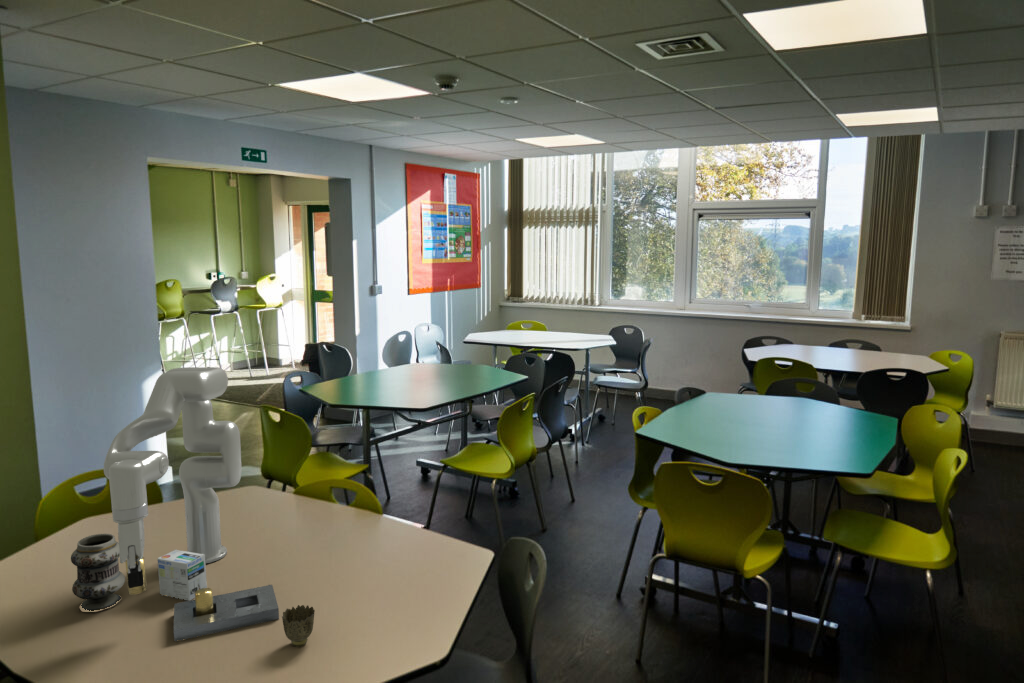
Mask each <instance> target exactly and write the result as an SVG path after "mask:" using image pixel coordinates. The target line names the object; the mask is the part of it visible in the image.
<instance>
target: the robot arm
mask: <svg viewBox="0 0 1024 683" xmlns="http://www.w3.org/2000/svg"><path fill="white" fill-rule="evenodd" d="M228 384H229V379H228V374H227V372H226V371H225V370H224V369H223V368H222V367H217V366H215V367H209V366H208V367H198V366H197V367H194V366H193V367H189V366H187V367H176V368H171V369H168V370H167V371H166V372H164V373H162V374H160V375H159V376H158V378H156V382H155V383H154V386H153V388H152V391H151V393H150V396H149V398H148V401H147V404H146V405H145V409H144V411H143V413H142V415H140V416H139V417H137V418H135V419H134V420H132V421H131V422H130V423H128V424H127V425H126V426H125V427H124V428H122V429H121V430H120V431H119V432H118V433H117V434H116V435H115V436H114V438H113V439H112V441H111V444H110V445H109V448H108V450H107V453H106V456H105V458H104V462H103V474H104V476H105V477H106V479H107V480H108V481H109V492H110V500H111V502H110V503H111V511H112V512H111V513H112V521H113V523H117V538H118V543H119V554H120V557H119V563H121V564H124V563H125V561H126V560H127V567H128V572H127V574H126V577H127V576H128V584H127V587H128V586H129V588H133V587H138V586H143V584H144V581H143V570H142V569H141V561H140V560H141V559H142V558H143V557H144V553H145V552H144V551H145V524H144V519H145V518H147V517H148V516H149V507H148V504H149V503H148V496H147V494H148V493H147V485H148V484H151V483H153V482H156V481H158V480H160V479H162V478H163V477H164V476H165V475H166V473H167V472H168V469H169V466H170V461H169V458H168V456H167V455H166V453H164V452H162V451H159V450H133V448H135V447H136V446H137V445H140V444H141V443H142V442H144V441H147V440H148V439H152V438H154V437H158V436H159V435H161V434H164V433H167V432H169V431H170V430H172V429H174V428H175V427H176V426H177V424H178V421H179V418H180V415H181V418H182V419H181V420H182V438H183V440H182V441H183V445H184V448H185V450H186V451H188V452H189V453H190V452H191V453H201V454H202V453H204V454H205V453H206V454H207V453H220V454H221V455H201V456H200V455H199V456H191V457H188V458H186V459H184V460H183V461H182V462H181V464H180V465H179V470H178V475H179V480H180V484H181V487H182V492H183V498H184V500H183V501H184V512H185V513H184V515H185V516H184V517H185V528H186V529H185V530H186V532H185V533H186V546H187V550H185V551H186V552H193V553H200V554H205V565H206V564H210V563H213V562H217V561H220V560H221V559H222V558H225V556H226V555H227V553H228V549H227V547H226V546H224V545H222V535H221V532H222V531H221V516H220V500H219V496H218V495H217V493H216V492H215V490H214V489H215V488H216V489H217V488H231V487H235V486H237V485H238V484H239V483H240V481H241V478H242V448H241V432H240V429H239V427H238V424H237V423H235V422H234V421H231V420H215V419H214V412H213V411H214V410H213V409H214V408H213V403H212V401H211V400H214V399H216V398H219V397H221V396H222V395H223V394H224V393H225V392H226V391H227V388H228ZM136 556H138V558H135V557H136ZM137 561H138V564H136V562H137Z"/></svg>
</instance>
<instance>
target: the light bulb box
mask: <svg viewBox="0 0 1024 683" xmlns="http://www.w3.org/2000/svg"><path fill="white" fill-rule="evenodd" d="M186 551H187V550H180V549H173V550H172V551H169V552H168V553H166V554H163V555H161V556H159V557H157V559H156V561H157V570H158V571H157V572H158V585H159V586H158V587H159V595H160V594H162V595H161V596H163V595H167V596H166V597H168V596H171V597H170V598H173V597H175V598H174V599H178V598H179V600H183V599H184V601H191V600H194V599H195V592H196V591H197V590H199V589H202V588H208V584H207V569H206V564H205V554H200V553H193V552H186Z"/></svg>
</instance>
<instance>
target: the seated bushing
mask: <svg viewBox="0 0 1024 683" xmlns="http://www.w3.org/2000/svg"><path fill="white" fill-rule="evenodd" d="M213 596H214V595H213V588H211V587H207V588H202V589H199V590H197V591H196V592H195V598H194V600H195V603H196V617H199V616H203V615H208V614H213V613H214V611H213Z"/></svg>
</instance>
